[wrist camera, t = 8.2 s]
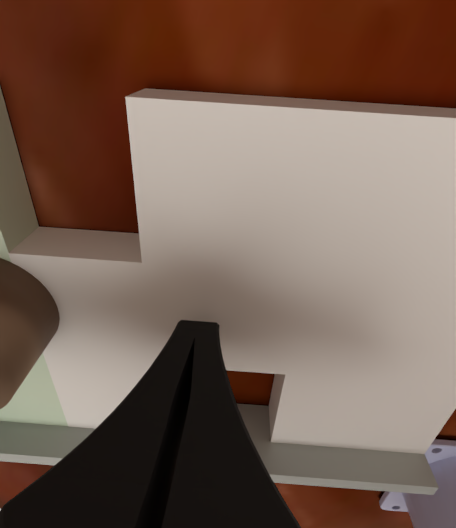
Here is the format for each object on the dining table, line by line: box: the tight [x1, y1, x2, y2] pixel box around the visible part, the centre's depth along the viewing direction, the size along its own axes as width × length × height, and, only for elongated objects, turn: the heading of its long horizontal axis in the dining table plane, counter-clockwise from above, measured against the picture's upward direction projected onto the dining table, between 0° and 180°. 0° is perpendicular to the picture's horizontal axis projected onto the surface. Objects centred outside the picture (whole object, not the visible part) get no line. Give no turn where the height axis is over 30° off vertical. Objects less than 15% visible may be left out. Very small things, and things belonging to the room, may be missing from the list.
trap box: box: [0, 87, 456, 495], centre depth 13 cm, size 22×16×4 cm
